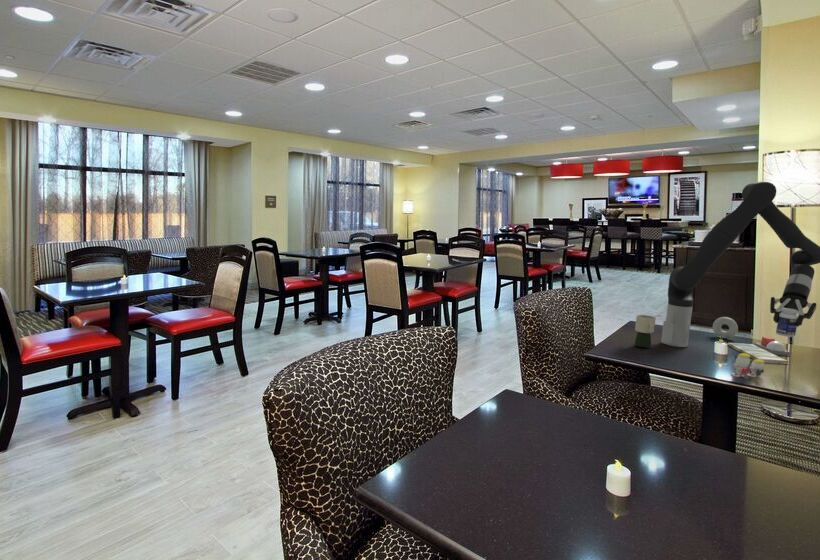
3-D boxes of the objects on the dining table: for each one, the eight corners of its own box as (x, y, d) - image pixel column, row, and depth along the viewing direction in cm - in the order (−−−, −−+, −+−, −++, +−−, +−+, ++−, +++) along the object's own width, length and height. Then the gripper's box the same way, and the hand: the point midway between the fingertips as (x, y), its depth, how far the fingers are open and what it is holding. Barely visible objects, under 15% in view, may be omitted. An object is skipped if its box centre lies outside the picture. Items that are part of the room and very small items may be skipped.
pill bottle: (790, 337, 175) (794, 311, 173) (772, 333, 180) (776, 307, 178) (798, 336, 178) (802, 310, 176) (780, 332, 183) (785, 306, 181)
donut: (737, 340, 216) (740, 319, 215) (734, 341, 214) (738, 319, 213) (712, 335, 224) (715, 314, 222) (709, 336, 222) (713, 315, 220)
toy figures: (756, 374, 171) (759, 351, 170) (766, 378, 167) (770, 355, 165) (725, 374, 169) (729, 351, 168) (735, 378, 165) (739, 355, 164)
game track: (787, 364, 184) (788, 360, 184) (759, 362, 185) (760, 359, 185) (752, 346, 207) (752, 344, 206) (727, 345, 208) (727, 342, 207)
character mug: (657, 351, 194) (661, 320, 192) (640, 350, 194) (644, 319, 192) (644, 343, 205) (648, 313, 203) (627, 343, 205) (631, 313, 203)
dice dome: (789, 359, 196) (791, 344, 195) (770, 358, 196) (773, 343, 195) (770, 350, 207) (772, 336, 206) (753, 349, 208) (755, 335, 207)
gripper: (774, 279, 186) (762, 313, 180) (822, 285, 176) (811, 321, 169) (774, 291, 190) (763, 325, 184) (821, 297, 180) (811, 333, 174)
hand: (786, 323), depth 177 cm, fingers closed on pill bottle, 5 cm apart
